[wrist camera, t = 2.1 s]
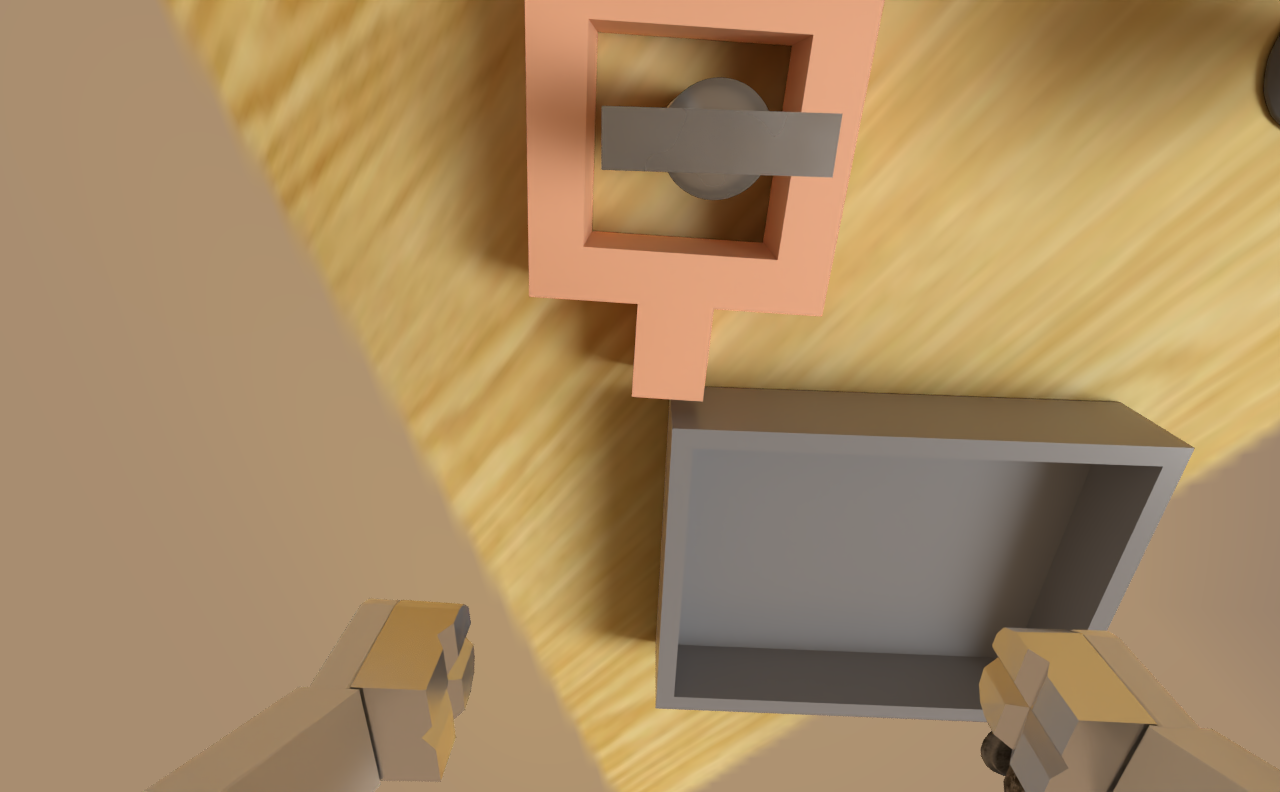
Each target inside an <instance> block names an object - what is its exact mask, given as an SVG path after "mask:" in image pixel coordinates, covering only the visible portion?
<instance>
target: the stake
mask: <svg viewBox="0 0 1280 792" xmlns="http://www.w3.org/2000/svg"><path fill="white" fill-rule="evenodd" d="M841 121H842V114H837V113H807V112H777V111H768V108H767V106H766V104H765V103H764V101H763V100H762V98H761V97H760V96H759V95H758V94H757V93H756V92H755V91H754V90H753V89H752V88H750V87H749V86H747V85H746V84H744V83H742V82H740V81H737V80H734V79H730V78H722V77H720V78H710V79H705V80H702V81H699V82H697V83H695V84H693V85H691V86H690V87H688V88H687V89H686V90H684V91H683V92H682V93H681V94H680V95H678V96H677V97H676V98H675V99H674V100H673V101H672V102H670V103H669V105H668V106H667V107H666V108H655V107H625V106H602V170H625V171H655V172H668V173H669V175H670V177H671V178H672V179H673V181H674V182H675V183H676V184H677V185H678V186H679V187H680V188H682V189H683V190H684V191H685V192H687V193H689V194H691V195H693V196H695V197H698V198H702V199H707V200H721V199H727V198H730V197H733V196H735V195H738V194H740V193H741V192H743V191H745V190H746V189H747V188H749V187H750V186H751V185H752V184H753V183H754V182H755V181H756V180H757V179H758V178H759V177H760V175H773V176H802V177H832V178H833V172H834V166H835V159H836V153H837V146H838V140H839V134H840V127H841Z"/></svg>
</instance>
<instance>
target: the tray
mask: <svg viewBox="0 0 1280 792" xmlns="http://www.w3.org/2000/svg"><path fill="white" fill-rule="evenodd" d="M1194 449H1195V448H1194V447H1192V446H1190V445H1189V444H1187V443H1186V442H1184V441H1182V440H1181V439H1179V438H1178V437H1176V436H1174V435H1173V434H1171V433H1169V432H1168V431H1166V430H1165V429H1163V428H1161V427H1160V426H1158V425H1156V424H1155V423H1153V422H1152V421H1150V420H1148V419H1147V418H1145V417H1143V416H1142V415H1140V414H1139V413H1137V412H1135V411H1134V410H1132V409H1131V408H1129V407H1127V406H1126V405H1124V404H1122V403H1121V402H1104V401H1076V400H1049V399H1022V398H995V397H968V396H941V395H914V394H887V393H860V392H833V391H806V390H779V389H752V388H724V387H705V388H704V396H703V402H702V401H687V400H672V399H669V413H668V431H667V449H666V467H665V485H664V503H663V521H662V539H661V557H660V574H659V592H658V610H657V628H656V708H660V709H684V710H709V711H733V712H757V713H781V714H805V715H829V716H855V717H877V718H901V719H902V718H903V719H926V720H949V721H973V722H987V721H986V719H985V716H984V713H983V710H982V707H981V703H980V691H979V682H980V679H981V676H982V673H983V669H984V667H986V666H987V665H988V664H990V663H991V662H992V661H994V660H995V659H996V658H998V656H997V654H996V652H995V651H994V649H993V647H992V645H993V642H994V640H995V637H996V634H997V633H998V632H999V631H1001V630H1002V629H1003V628H1004V627H1007V628H1036V629H1065V630H1100V631H1107V629H1108V627H1109V625H1110V623H1111V621H1112V619H1113V617H1114V615H1115V613H1116V611H1117V608H1118V606H1119V604H1120V602H1121V600H1122V598H1123V596H1124V594H1125V592H1126V590H1127V588H1128V586H1129V584H1130V582H1131V579H1132V577H1133V575H1134V573H1135V571H1136V569H1137V567H1138V565H1139V563H1140V561H1141V559H1142V557H1143V554H1144V552H1145V550H1146V548H1147V546H1148V544H1149V542H1150V540H1151V538H1152V536H1153V534H1154V532H1155V530H1156V527H1157V525H1158V523H1159V521H1160V519H1161V517H1162V515H1163V513H1164V511H1165V509H1166V507H1167V505H1168V503H1169V501H1170V498H1171V496H1172V494H1173V492H1174V490H1175V488H1176V486H1177V484H1178V482H1179V480H1180V478H1181V476H1182V474H1183V471H1184V469H1185V467H1186V465H1187V463H1188V461H1189V459H1190V457H1191V455H1192V453H1193V451H1194Z"/></svg>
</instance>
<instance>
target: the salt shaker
mask: <svg viewBox="0 0 1280 792" xmlns="http://www.w3.org/2000/svg"><path fill="white" fill-rule="evenodd" d="M1011 753H1012V749H1011V748H1010V747H1009V746H1008V745H1006V744H1005V743H1004V742H1003V741H1001V740H1000V739H999V738H998V737H996V736H995V735H994V734H993V732H992V731H991V732H990V733H989V734H988V735H987V737H986V738H985V739H984V741H983V743H982V747H981V757H982V759H983V761H984V762H985V764H986V766H987V767H989V768H990V769H991V770H992V771H994V772H996V773H998V774H1001V775H1003V776H1005V779H1004V792H1025V790H1024V789H1023V787H1022V785H1021V783H1020V781H1019V779H1018V778H1017V776H1016V774H1015V772H1014V770H1013V769H1012V767H1011V765H1010V759H1011Z"/></svg>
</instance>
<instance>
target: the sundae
mask: <svg viewBox="0 0 1280 792" xmlns="http://www.w3.org/2000/svg"><path fill="white" fill-rule="evenodd" d="M1264 95H1265V100H1266V104H1267V107H1268V109H1269V112H1270V114H1271V117H1272V118H1273V119H1274V120H1275V121H1276V122H1277V123H1278V124H1279V125H1280V35H1279V37H1278V39H1277V41H1276V42H1275V45H1274V47H1273V49H1272V51H1271V53H1270V56H1269V58H1268V62H1267V67H1266V71H1265V78H1264Z"/></svg>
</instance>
